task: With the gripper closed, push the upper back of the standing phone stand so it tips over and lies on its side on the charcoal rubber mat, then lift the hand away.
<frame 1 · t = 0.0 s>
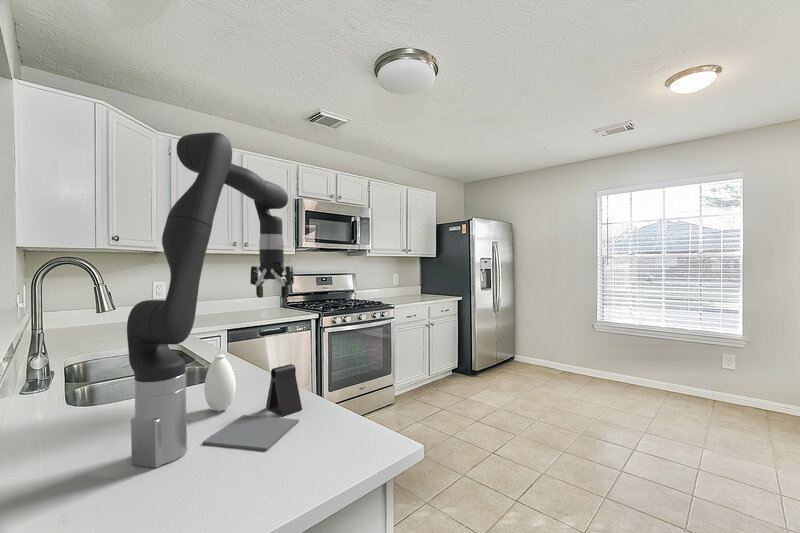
hand: (272, 297, 124), 29 cm above the worktop, tool pointing down, fingers open, 8 cm apart
phone stand: (283, 409, 106), on the worktop
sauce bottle: (220, 410, 105), on the worktop
rubber mat: (253, 432, 91), on the worktop
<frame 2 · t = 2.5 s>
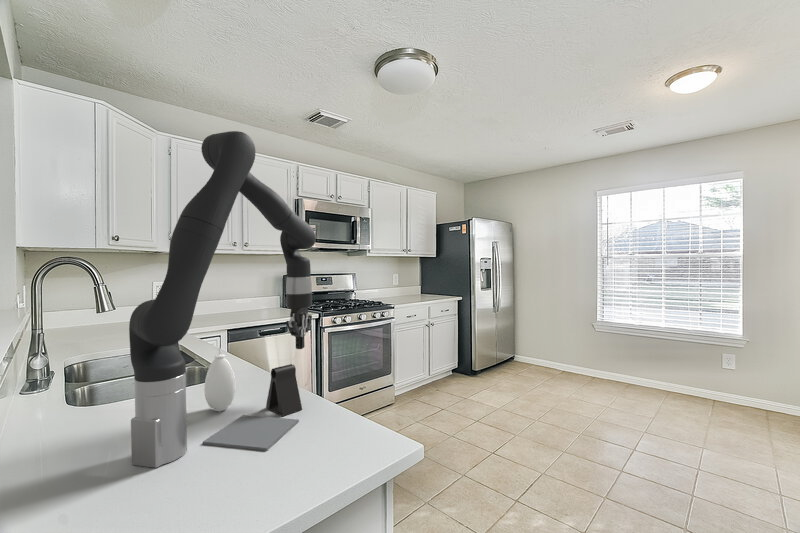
hand: (300, 348, 115), 15 cm above the worktop, tool pointing down, fingers closed
nothing on the worktop moved.
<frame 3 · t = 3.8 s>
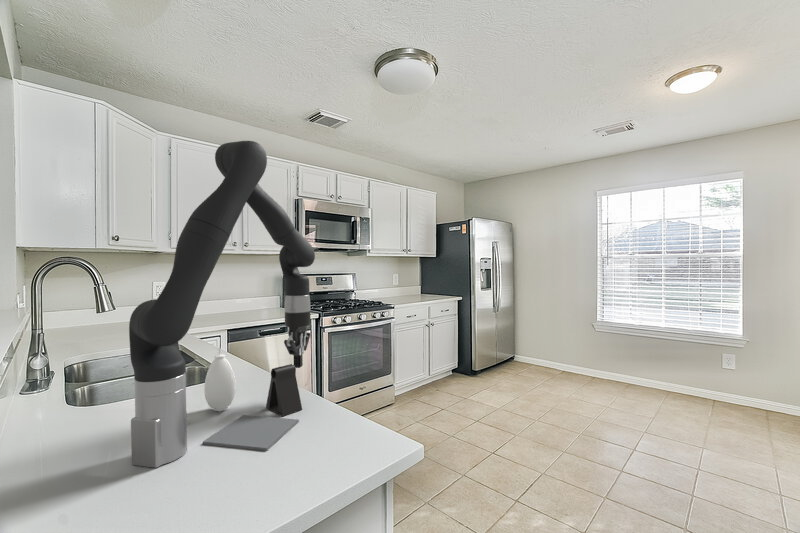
hand: (298, 367, 114), 9 cm above the worktop, tool pointing down, fingers closed
nothing on the worktop moved.
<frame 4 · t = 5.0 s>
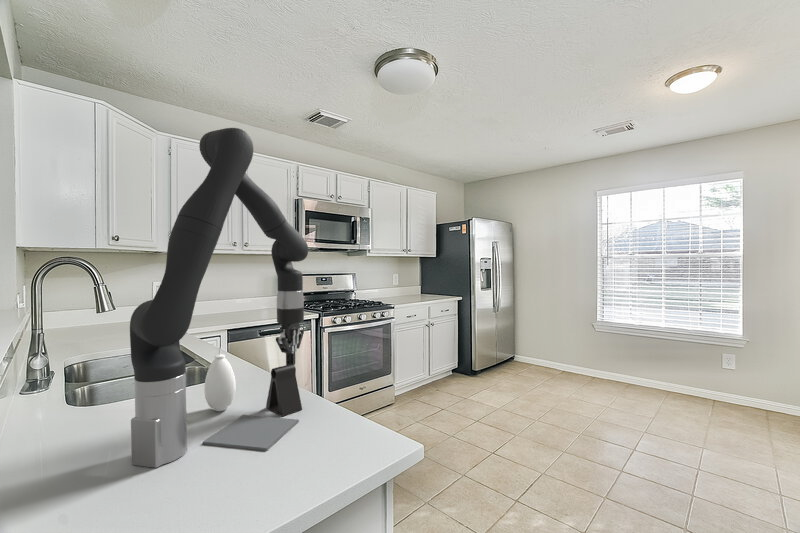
hand: (290, 365, 110), 11 cm above the worktop, tool pointing down, fingers closed
phone stand: (283, 409, 106), on the worktop, touching gripper
everything else where it was.
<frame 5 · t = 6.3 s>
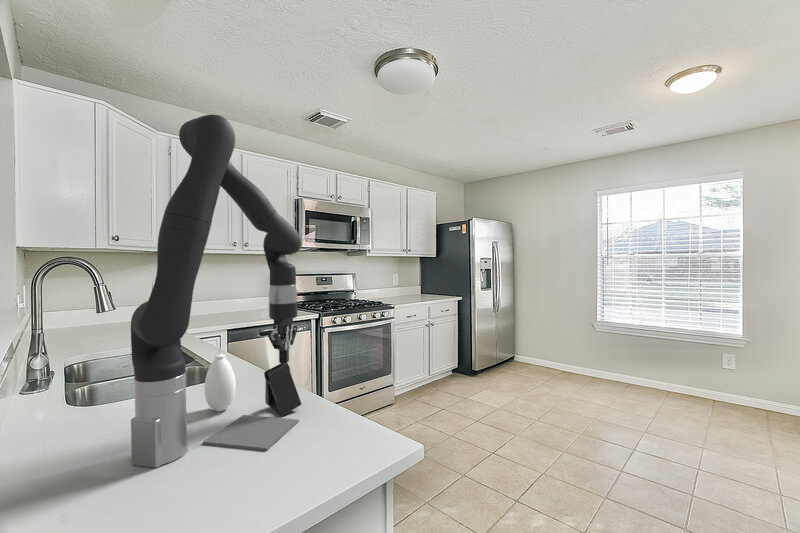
hand: (284, 362, 106), 13 cm above the worktop, tool pointing down, fingers closed
phone stand: (283, 404, 105), point 1 cm above the worktop, touching gripper
everything else where it was.
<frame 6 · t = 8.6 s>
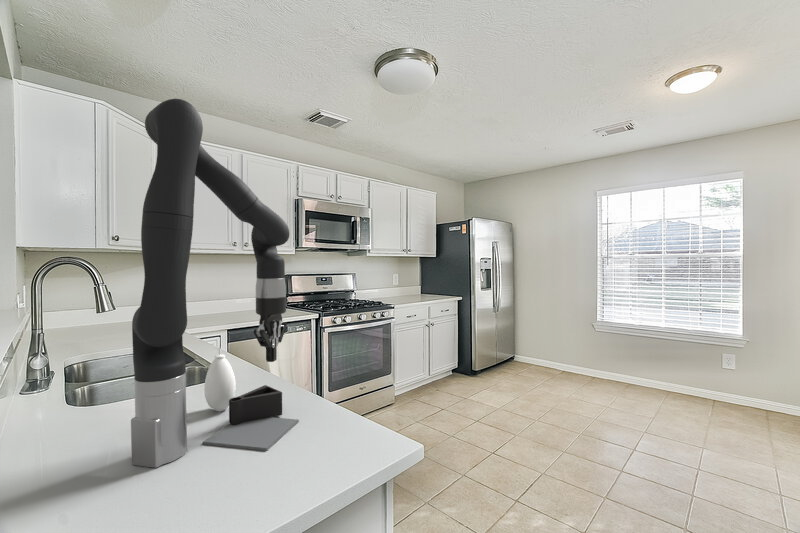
hand: (271, 361, 99), 15 cm above the worktop, tool pointing down, fingers closed
phone stand: (274, 399, 103), point 4 cm above the worktop, touching rubber mat
everything else where it was.
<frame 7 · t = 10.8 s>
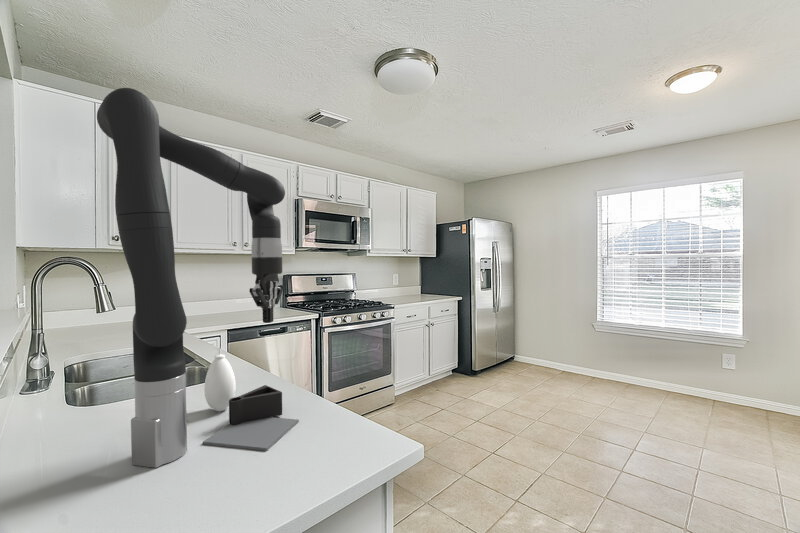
hand: (268, 322, 99), 25 cm above the worktop, tool pointing down, fingers closed
nothing on the worktop moved.
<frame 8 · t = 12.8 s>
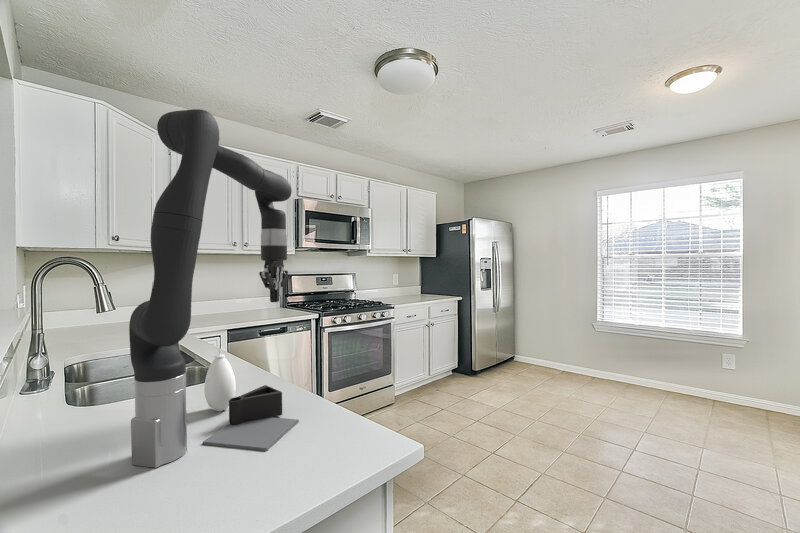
hand: (274, 301, 114), 29 cm above the worktop, tool pointing down, fingers closed
nothing on the worktop moved.
at the end: phone stand tilted 90°; phone stand touching rubber mat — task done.
